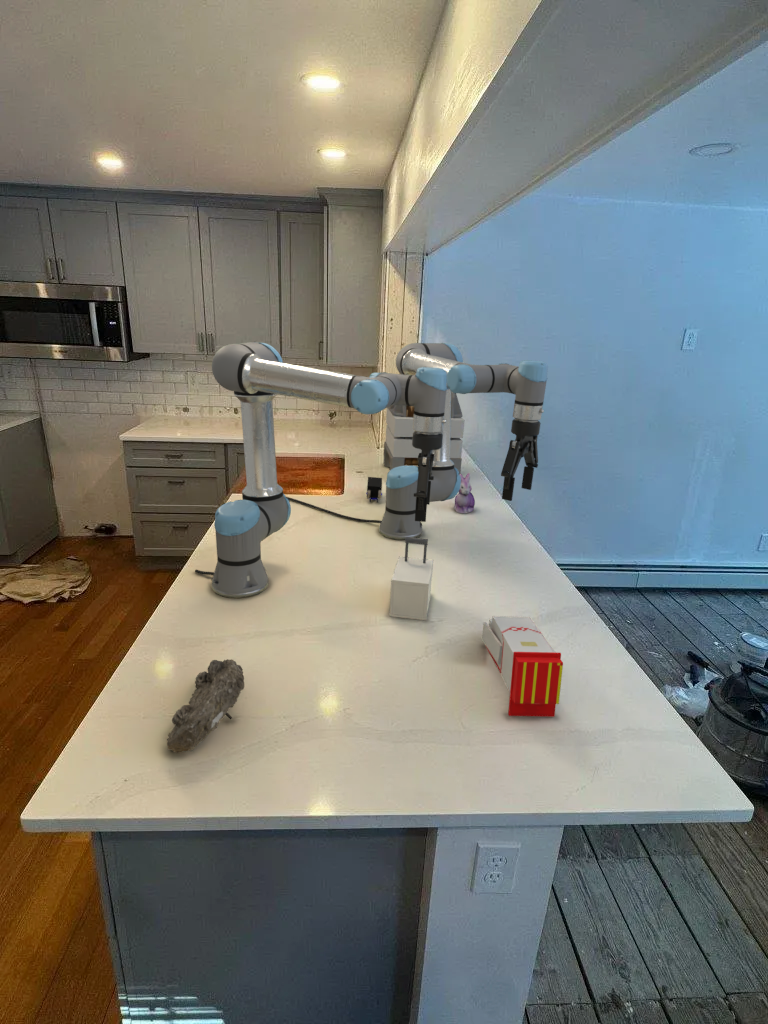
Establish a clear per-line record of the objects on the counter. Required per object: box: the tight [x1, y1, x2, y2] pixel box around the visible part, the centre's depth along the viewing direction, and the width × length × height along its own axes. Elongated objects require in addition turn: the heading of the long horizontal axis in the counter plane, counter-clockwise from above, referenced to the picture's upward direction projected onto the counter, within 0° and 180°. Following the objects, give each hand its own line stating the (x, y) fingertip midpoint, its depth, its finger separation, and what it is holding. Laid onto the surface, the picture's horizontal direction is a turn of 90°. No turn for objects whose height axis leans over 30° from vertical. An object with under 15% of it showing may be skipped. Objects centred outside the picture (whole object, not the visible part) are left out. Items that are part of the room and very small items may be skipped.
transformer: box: [383, 392, 465, 474], centre depth 268 cm, size 34×33×41 cm
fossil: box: [166, 658, 245, 754], centre depth 106 cm, size 22×10×15 cm
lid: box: [390, 537, 434, 587], centre depth 148 cm, size 15×10×8 cm, turn 171°
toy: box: [481, 615, 564, 718], centre depth 123 cm, size 12×13×30 cm
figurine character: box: [365, 476, 383, 503], centre depth 234 cm, size 7×8×15 cm
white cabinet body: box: [388, 565, 434, 621], centre depth 151 cm, size 14×10×10 cm
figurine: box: [453, 472, 476, 514], centre depth 224 cm, size 9×10×15 cm
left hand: (422, 512), depth 148 cm, fingers open, 13 cm apart
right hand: (516, 494), depth 161 cm, fingers open, 13 cm apart
